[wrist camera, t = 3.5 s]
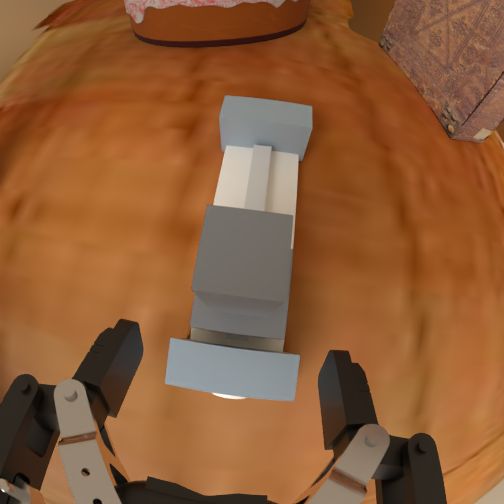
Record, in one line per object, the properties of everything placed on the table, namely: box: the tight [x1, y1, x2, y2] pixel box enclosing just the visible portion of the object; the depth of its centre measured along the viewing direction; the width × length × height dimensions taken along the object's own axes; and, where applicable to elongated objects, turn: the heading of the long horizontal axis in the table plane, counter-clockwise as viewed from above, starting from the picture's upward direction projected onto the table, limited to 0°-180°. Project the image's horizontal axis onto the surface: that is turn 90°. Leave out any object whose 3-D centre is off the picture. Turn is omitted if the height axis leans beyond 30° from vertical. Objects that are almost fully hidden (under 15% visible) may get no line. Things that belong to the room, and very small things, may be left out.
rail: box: [165, 95, 312, 401], centre depth 21 cm, size 25×8×5 cm, turn 173°
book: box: [379, 0, 504, 143], centre depth 19 cm, size 25×9×30 cm, turn 11°
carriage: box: [190, 204, 293, 339], centre depth 16 cm, size 6×6×11 cm
